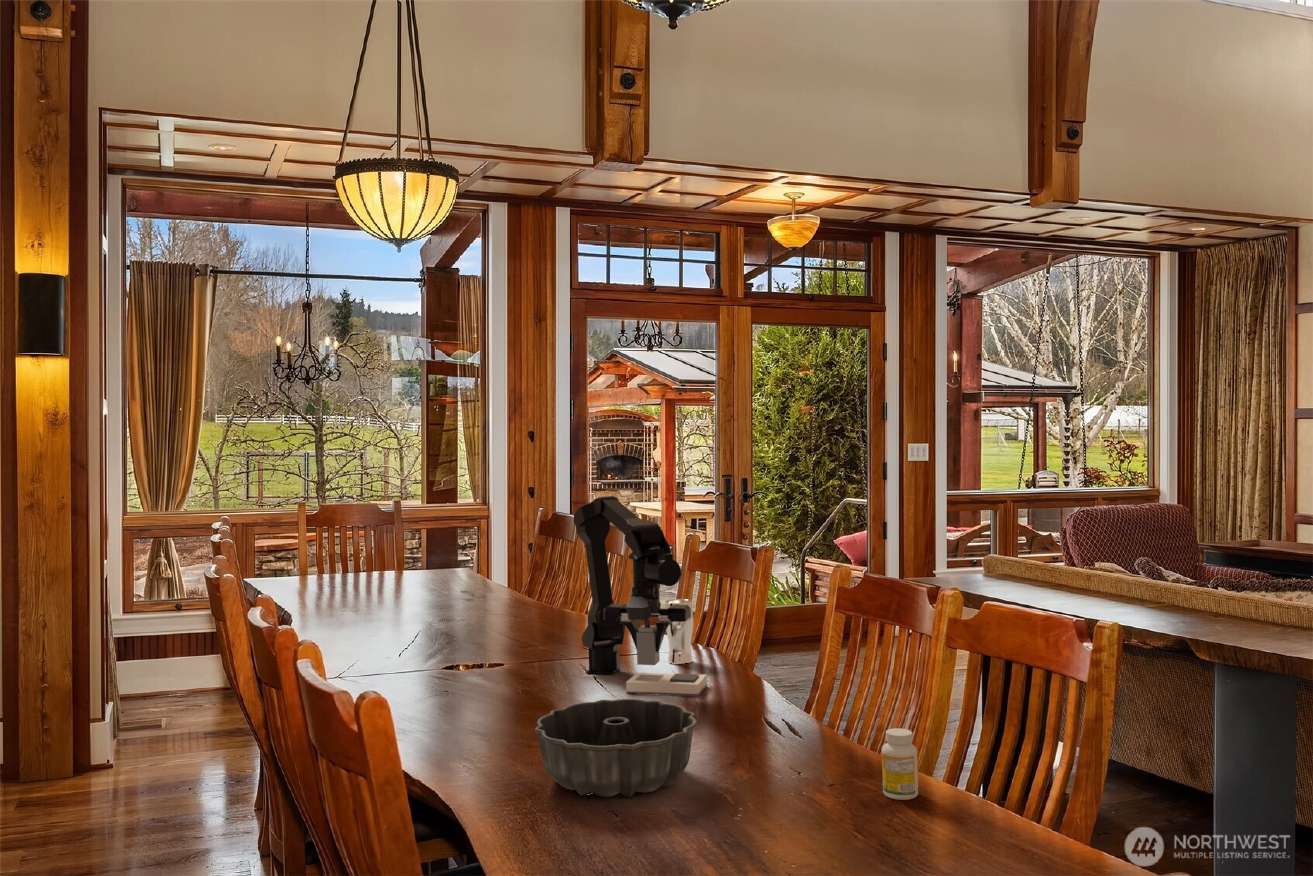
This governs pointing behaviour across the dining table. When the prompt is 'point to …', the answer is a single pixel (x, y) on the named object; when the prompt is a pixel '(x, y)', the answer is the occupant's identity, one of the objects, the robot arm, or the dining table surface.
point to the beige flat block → (667, 684)
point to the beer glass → (680, 635)
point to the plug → (647, 645)
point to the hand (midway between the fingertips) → (648, 651)
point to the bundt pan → (616, 745)
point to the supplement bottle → (899, 765)
